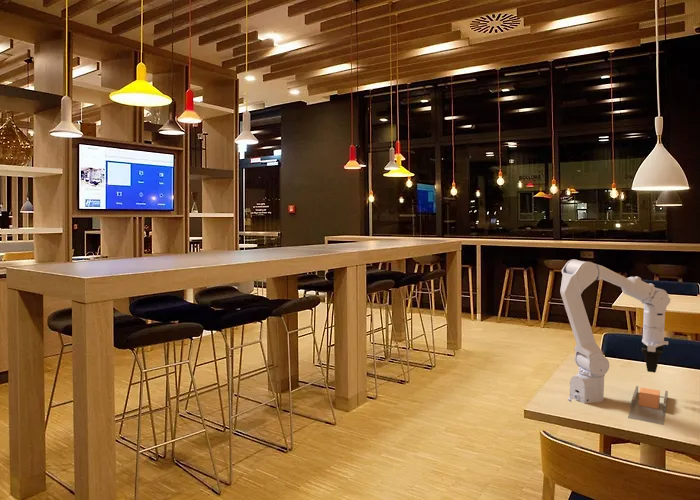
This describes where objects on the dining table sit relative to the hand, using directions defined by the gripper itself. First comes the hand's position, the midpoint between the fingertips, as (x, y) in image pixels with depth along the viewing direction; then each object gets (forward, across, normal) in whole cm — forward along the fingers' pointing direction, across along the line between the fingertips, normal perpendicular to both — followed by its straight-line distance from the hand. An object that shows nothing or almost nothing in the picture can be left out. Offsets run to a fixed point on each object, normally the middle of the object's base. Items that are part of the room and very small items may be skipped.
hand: (652, 369), depth 161 cm
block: (+8, -8, 0) cm, 12 cm away
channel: (+9, -10, 0) cm, 14 cm away
